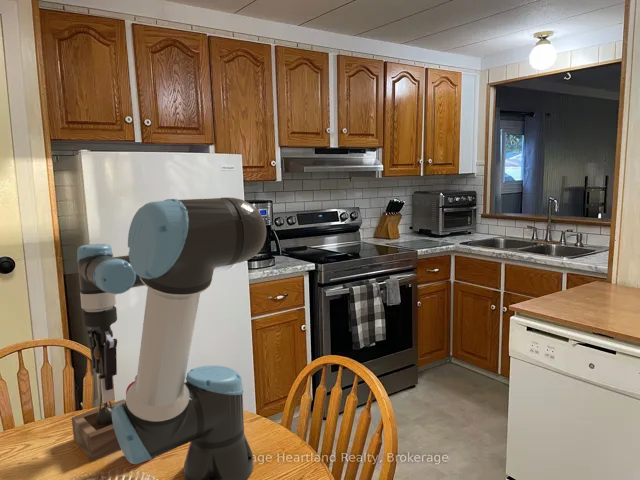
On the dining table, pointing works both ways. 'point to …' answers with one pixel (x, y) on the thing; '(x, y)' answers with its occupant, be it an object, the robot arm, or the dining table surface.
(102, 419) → the wooden tabletop sculpture
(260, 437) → the dining table surface
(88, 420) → the box
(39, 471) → the dining table surface
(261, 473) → the dining table surface
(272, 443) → the dining table surface
